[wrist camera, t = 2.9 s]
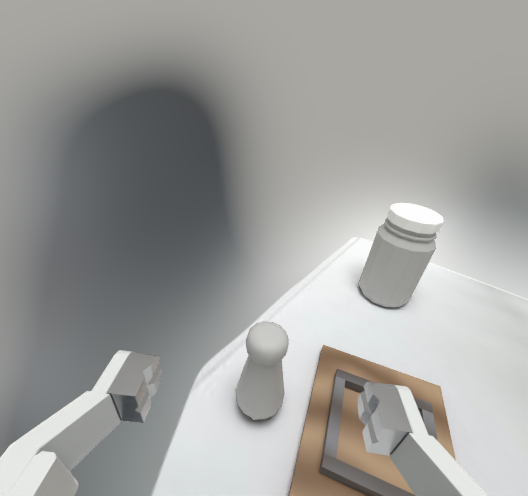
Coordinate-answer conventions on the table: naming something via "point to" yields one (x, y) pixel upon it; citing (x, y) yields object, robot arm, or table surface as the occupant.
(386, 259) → the jar
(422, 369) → the table surface
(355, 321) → the table surface
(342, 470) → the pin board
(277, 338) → the salt shaker
